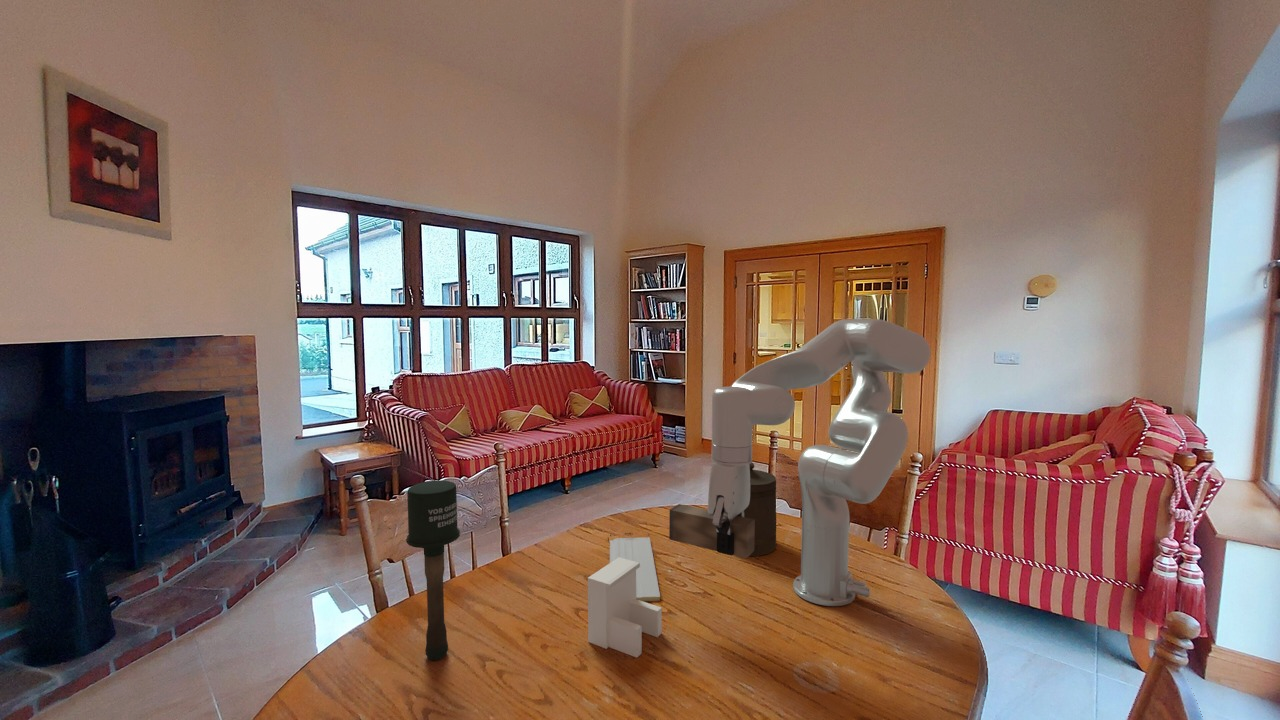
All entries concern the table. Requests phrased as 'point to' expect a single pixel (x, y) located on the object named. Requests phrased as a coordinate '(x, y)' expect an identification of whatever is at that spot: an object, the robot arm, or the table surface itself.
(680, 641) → the table surface
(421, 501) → the potato masher grenade
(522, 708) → the table surface
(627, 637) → the white forked bracket
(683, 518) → the rail
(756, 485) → the wooden container
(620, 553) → the baseboard molding
